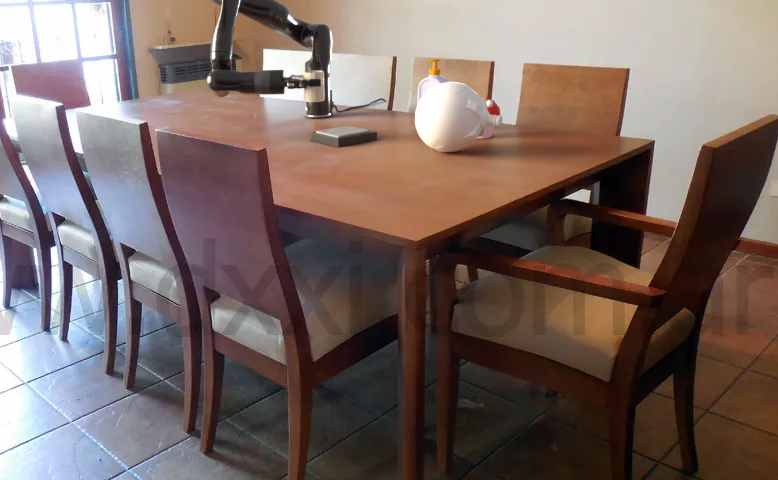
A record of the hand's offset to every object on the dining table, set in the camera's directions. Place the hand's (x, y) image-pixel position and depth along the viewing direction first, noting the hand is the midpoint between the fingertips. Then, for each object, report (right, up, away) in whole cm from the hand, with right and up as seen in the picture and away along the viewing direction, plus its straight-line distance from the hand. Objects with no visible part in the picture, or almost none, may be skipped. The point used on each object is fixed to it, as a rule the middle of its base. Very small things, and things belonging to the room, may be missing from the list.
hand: (321, 81), depth 218 cm
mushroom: (+52, -18, +1) cm, 55 cm away
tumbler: (-2, -6, +3) cm, 6 cm away
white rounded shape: (+39, -27, -19) cm, 51 cm away
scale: (+7, -19, +2) cm, 20 cm away
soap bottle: (+38, -13, +12) cm, 42 cm away
